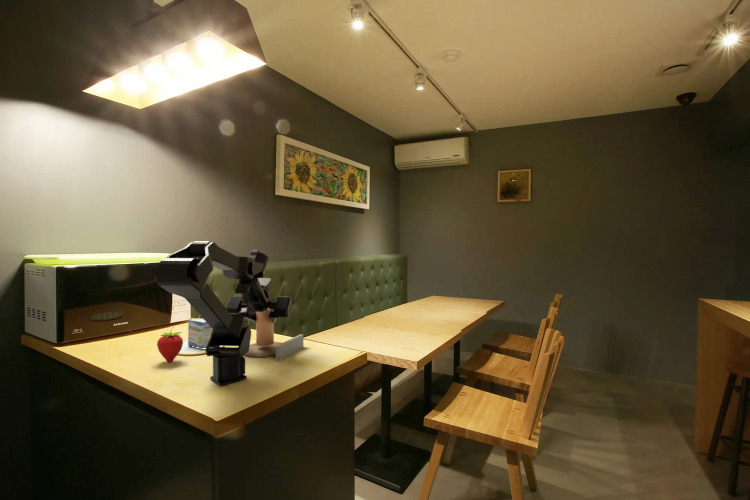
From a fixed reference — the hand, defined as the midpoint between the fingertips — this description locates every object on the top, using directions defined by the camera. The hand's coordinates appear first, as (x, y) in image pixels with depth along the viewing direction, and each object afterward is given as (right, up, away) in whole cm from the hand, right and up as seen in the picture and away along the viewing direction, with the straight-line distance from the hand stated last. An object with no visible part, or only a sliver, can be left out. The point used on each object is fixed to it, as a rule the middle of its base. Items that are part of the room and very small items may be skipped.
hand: (266, 321), depth 110 cm
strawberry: (-23, -9, -12) cm, 28 cm away
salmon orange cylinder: (0, -7, -1) cm, 7 cm away
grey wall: (+8, -9, -4) cm, 13 cm away
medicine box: (-22, -9, +3) cm, 24 cm away
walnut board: (0, -9, -1) cm, 9 cm away
